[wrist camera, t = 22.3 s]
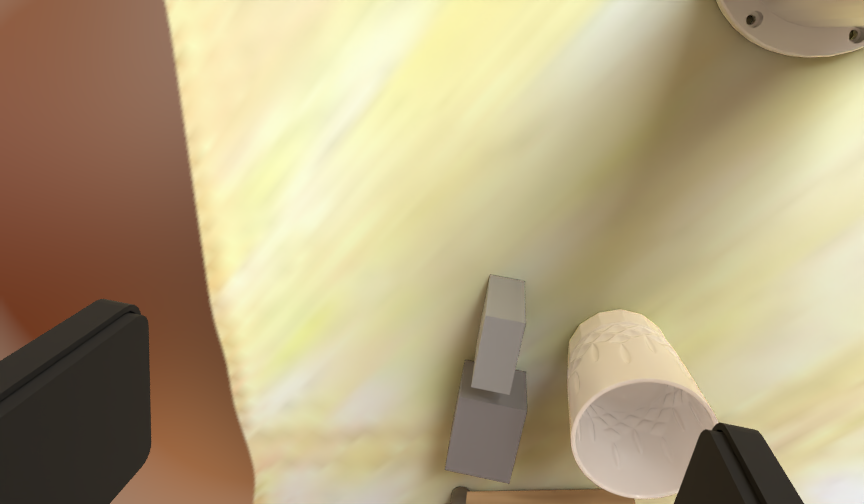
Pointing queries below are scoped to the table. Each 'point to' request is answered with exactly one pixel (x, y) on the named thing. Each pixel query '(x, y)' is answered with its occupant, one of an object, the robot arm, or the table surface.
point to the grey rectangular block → (487, 428)
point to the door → (538, 497)
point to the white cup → (632, 406)
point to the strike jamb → (500, 335)
